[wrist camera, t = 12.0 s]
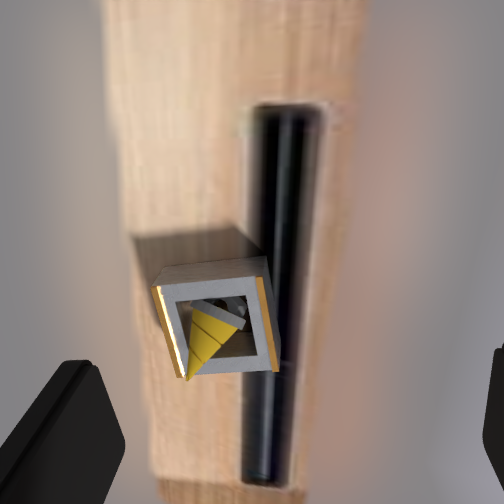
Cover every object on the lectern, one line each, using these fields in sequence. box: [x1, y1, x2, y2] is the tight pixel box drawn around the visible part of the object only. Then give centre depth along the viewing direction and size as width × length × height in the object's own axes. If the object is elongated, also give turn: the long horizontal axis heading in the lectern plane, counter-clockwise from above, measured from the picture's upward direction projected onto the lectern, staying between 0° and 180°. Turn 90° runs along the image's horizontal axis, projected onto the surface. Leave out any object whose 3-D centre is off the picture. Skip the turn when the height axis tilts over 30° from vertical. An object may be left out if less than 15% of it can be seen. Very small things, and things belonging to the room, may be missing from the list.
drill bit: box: [186, 296, 248, 381], centre depth 40 cm, size 5×5×10 cm
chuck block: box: [150, 256, 281, 378], centre depth 41 cm, size 10×10×4 cm
